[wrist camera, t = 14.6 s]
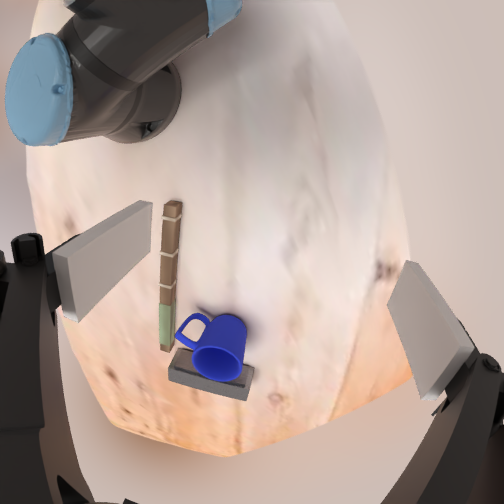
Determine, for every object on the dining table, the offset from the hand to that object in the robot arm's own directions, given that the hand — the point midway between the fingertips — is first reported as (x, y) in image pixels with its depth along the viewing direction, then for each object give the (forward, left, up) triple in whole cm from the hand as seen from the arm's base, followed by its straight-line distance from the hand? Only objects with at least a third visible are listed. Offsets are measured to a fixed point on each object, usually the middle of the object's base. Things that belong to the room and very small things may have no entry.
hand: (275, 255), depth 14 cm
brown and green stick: (-16, -23, -29) cm, 40 cm away
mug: (-6, -28, -29) cm, 41 cm away
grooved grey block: (-6, -40, -29) cm, 50 cm away
